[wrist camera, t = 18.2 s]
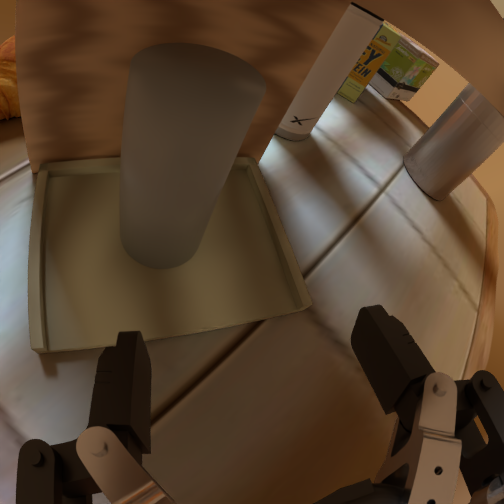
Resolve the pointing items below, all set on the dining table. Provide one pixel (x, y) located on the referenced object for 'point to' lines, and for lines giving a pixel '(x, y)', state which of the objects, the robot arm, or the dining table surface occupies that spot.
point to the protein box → (369, 62)
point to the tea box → (403, 71)
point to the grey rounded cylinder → (180, 145)
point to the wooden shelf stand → (239, 178)
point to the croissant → (8, 81)
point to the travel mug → (329, 71)
